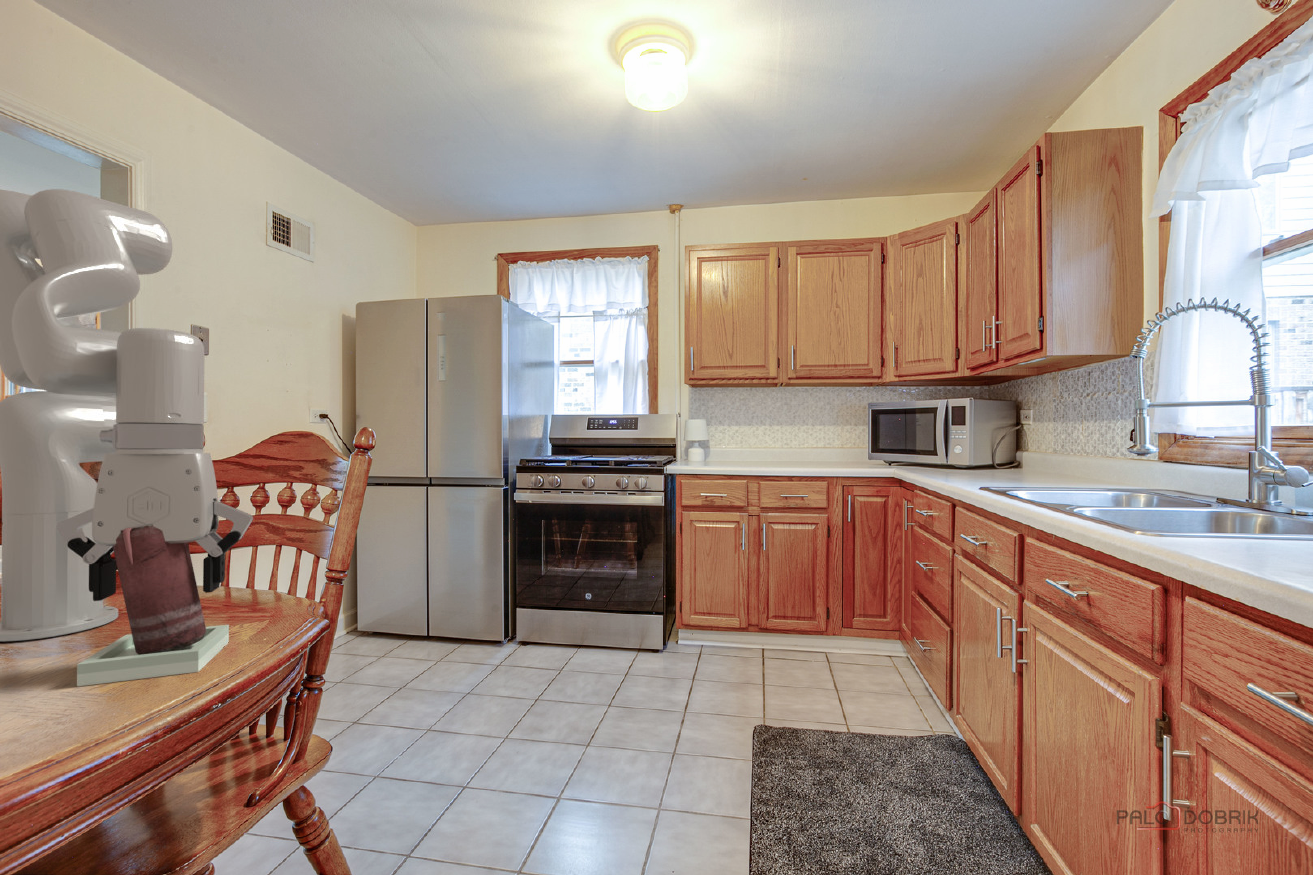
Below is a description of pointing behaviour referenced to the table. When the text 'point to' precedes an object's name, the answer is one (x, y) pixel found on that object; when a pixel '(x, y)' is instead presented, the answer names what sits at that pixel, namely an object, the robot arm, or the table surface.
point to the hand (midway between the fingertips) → (159, 593)
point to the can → (158, 591)
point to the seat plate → (149, 659)
